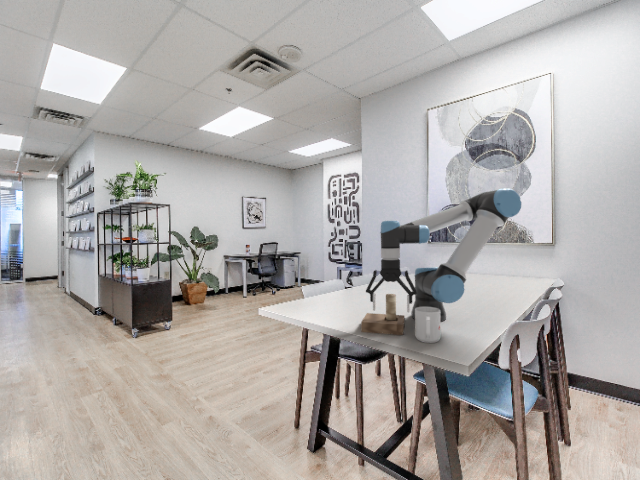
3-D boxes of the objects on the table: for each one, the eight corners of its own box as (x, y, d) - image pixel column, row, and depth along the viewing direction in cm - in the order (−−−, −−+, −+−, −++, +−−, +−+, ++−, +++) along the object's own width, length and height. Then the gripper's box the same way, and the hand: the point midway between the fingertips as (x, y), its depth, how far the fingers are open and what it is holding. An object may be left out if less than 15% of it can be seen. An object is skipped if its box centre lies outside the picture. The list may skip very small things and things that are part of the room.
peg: (396, 327, 132) (396, 294, 132) (395, 330, 128) (395, 296, 128) (386, 327, 133) (386, 293, 133) (385, 329, 129) (385, 295, 129)
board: (404, 324, 136) (404, 315, 136) (402, 335, 123) (402, 324, 123) (366, 322, 141) (366, 313, 141) (361, 331, 127) (361, 321, 127)
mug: (415, 334, 123) (415, 306, 123) (439, 336, 121) (439, 307, 120) (414, 345, 112) (414, 313, 111) (442, 347, 109) (441, 315, 109)
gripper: (422, 258, 130) (423, 310, 130) (361, 257, 137) (362, 306, 138) (422, 259, 123) (423, 314, 123) (358, 259, 130) (359, 311, 131)
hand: (391, 310), depth 131 cm, fingers open, 13 cm apart
